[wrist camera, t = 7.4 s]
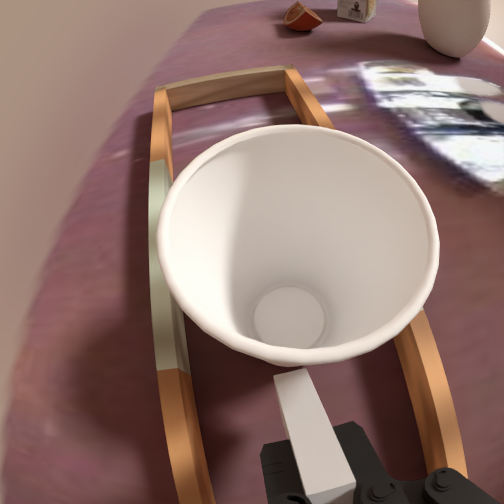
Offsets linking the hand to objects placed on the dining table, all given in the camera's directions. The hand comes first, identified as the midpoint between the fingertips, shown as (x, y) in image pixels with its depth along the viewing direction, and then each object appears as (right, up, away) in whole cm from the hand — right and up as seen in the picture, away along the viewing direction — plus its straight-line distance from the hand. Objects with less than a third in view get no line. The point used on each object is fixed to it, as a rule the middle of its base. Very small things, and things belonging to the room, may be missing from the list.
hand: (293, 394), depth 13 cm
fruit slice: (+7, +45, +31) cm, 55 cm away
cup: (0, +2, +6) cm, 7 cm away
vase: (+35, +45, +29) cm, 63 cm away
